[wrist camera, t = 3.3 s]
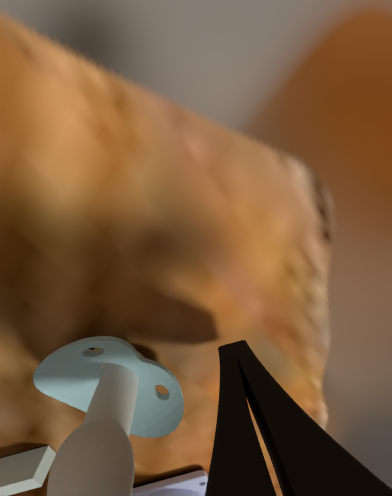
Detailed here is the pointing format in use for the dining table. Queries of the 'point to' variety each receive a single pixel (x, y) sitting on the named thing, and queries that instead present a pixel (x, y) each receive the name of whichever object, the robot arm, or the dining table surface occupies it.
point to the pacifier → (106, 412)
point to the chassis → (25, 470)
